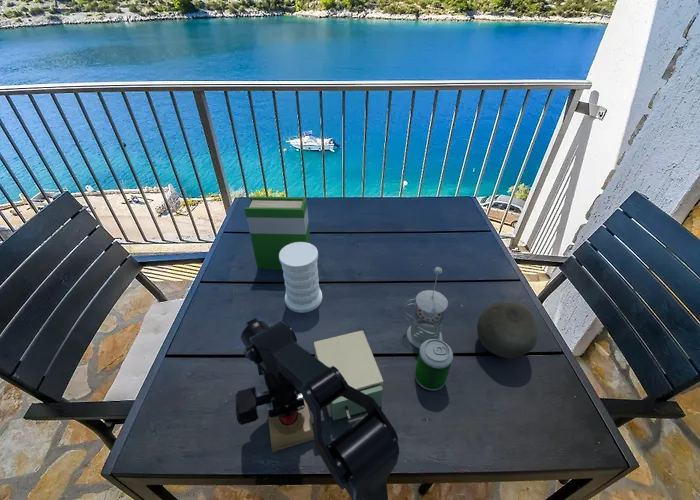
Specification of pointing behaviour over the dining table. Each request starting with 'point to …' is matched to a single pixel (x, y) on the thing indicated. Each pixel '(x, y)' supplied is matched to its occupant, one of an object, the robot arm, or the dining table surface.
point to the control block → (291, 430)
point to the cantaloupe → (507, 329)
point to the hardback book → (276, 227)
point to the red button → (289, 419)
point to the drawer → (354, 405)
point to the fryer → (350, 360)
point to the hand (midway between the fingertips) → (288, 415)
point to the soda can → (433, 364)
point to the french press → (427, 315)
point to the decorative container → (301, 276)
